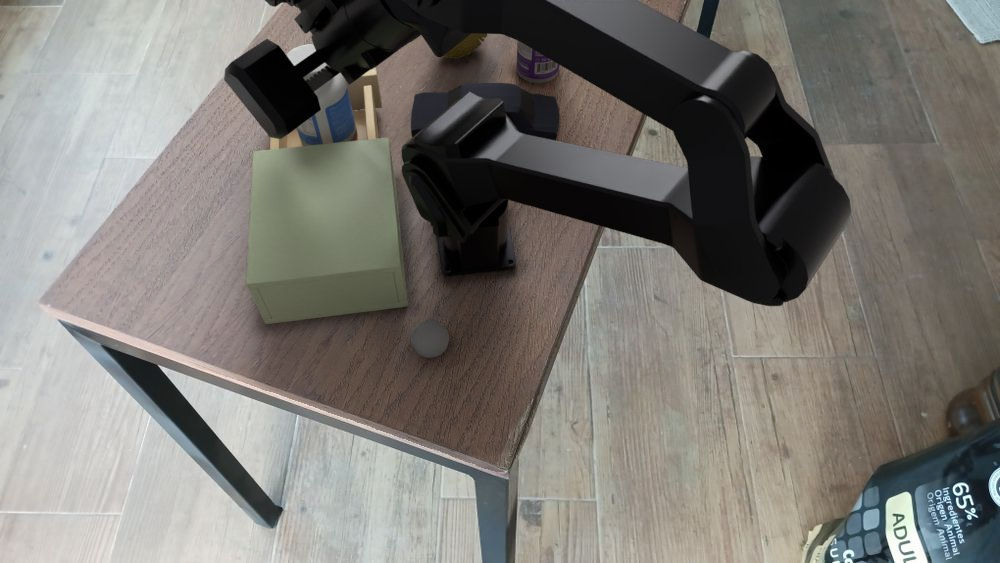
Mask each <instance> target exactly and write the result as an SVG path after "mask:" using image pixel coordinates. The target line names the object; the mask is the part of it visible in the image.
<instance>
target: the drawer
mask: <svg viewBox="0 0 1000 563" xmlns="http://www.w3.org/2000/svg"><path fill="white" fill-rule="evenodd" d="M345 82H346V85H347V89H348V94H349V98H350V102H351V106H352V111H353V115H354V119H355V124H356V128H357V135H358V137H357V141H358V140H368V139H378V138H380V136H379V128H378V127H379V126H378V115H377V109H378V108H379V109H381V108H383V103H382V96H381V89H380V84H379V83H380V82H379V76H378V72H377V66H376V67H375V68H373V69H372V70H371V69H370V70H369V71H368V72H366V73H365V74H364V75H362V76H361V77H360V78H358V79H357V80H356V81H354V82H353V83H351V84H350V85H349V84H348V83H347V81H346V80H345ZM269 138H270V139H269V140H270V141H269V143H270V144H269V150H271V149H281V148H290V147H300V146H302V143H301V140H300V137H299V134H298V131H297V128H296V129H295V130H293V131H292V132H291V133H289V134H288V135H286V136H285V137H283V138H282V139H276V138H271V137H269Z"/></svg>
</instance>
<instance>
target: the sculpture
mask: <svg viewBox="0 0 1000 563" xmlns="http://www.w3.org/2000/svg"><path fill="white" fill-rule="evenodd" d="M487 37H488V34H478V33H472V34H470V35H469V36H468V37H466V38H465V39H464V40H463V41H461V42H460V43H459V44H458V45H456V46H455V47H454V48H452V49H451V50H450V51H449V52H447V53H446V54H445V55H444V56H443V58H449V59H459V58H463V57H465V56H468V55H470V54H472V53H473V52H475V51H476V50H477V49H478V48H479V47H480V46H481V45H482V42H485V39H486V38H487Z"/></svg>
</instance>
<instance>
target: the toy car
mask: <svg viewBox="0 0 1000 563" xmlns="http://www.w3.org/2000/svg"><path fill="white" fill-rule="evenodd" d="M468 92H471V93H473V94H475V95H477V96H479V97H482V98H485V99H501V100H502V101H503V102H504V106H505V113H506V114H507V116H508V117H509V118H510V120H511V121H512V122H513V124H514V125H515V126H516V128H517V129H518V131H519V132H520V133H523V134H527V135H532V136H536V137H541V138H546V139H551V140H556V141H557V140H558V135H559V130H560V125H561V124H560V123H561V113H560V108H559V104H558V101H557V98H556V96H554V95H548V94H542V93H541V94H540V93H535V92H530V91H528V90H527V89H525V88H522V87H521V86H519V85H517V84H515V83H510V82H464V83H462V84H460V85H458V86H456V87H454V88H452V89H451V90H448V91H426V92H425V91H424V92H419V93H415V95H414V97H413V103H412V108H411V117H410V132H411V133H410V134H411V138H413V137H414V136H415V135H416V134H417V133H419V132H420V131H421V130H422V129H423V128H425V127H426V126H427V125H428V124H429V123H431V122H432V121H433V120H434V119H435V118H436V117H438V116H439V115H440V114H441V113H442V112H444V111H445V110H446V109H447V108H448V107H450V106H451V105H452V104H453V103H454V102H456V101H457V100H459V99H461V98H462V97H463V96H465V95H466V94H467V93H468Z"/></svg>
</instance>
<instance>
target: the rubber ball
mask: <svg viewBox="0 0 1000 563" xmlns="http://www.w3.org/2000/svg"><path fill="white" fill-rule="evenodd" d="M410 340H411V345H412V348H413V350H414V351H415V352H416V353H417V354H418V355H419V356H421V357H423V358H429V359H430V358H436V357H439V356H441V355H442V354H443V353H445V351H446V350H447V349H448V346H449V342H450V336H449V332H448V330H447V328H446V327H445V326H444V325H443V324H442V323H440V321H436V320H434V319H433V320H432V319H428V320H423V321H421V322H420V323H418V324H417V325H416V326H415V327H414V328H413V330H412V332H411V338H410Z"/></svg>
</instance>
